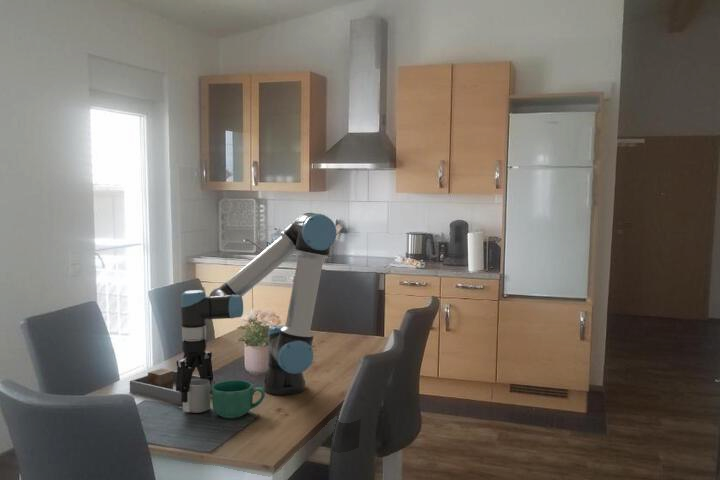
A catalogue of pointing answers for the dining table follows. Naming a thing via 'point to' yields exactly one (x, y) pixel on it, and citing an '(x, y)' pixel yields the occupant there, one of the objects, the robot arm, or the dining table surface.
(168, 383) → the walnut block
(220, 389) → the mug
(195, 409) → the cup
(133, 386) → the gray tray
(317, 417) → the dining table surface
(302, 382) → the robot arm
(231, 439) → the dining table surface
